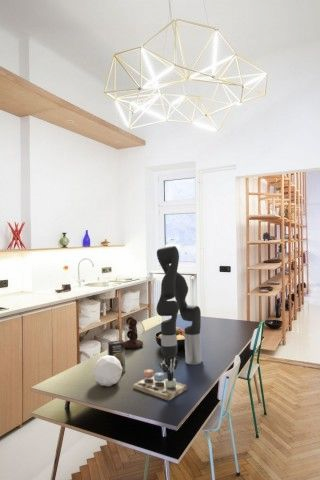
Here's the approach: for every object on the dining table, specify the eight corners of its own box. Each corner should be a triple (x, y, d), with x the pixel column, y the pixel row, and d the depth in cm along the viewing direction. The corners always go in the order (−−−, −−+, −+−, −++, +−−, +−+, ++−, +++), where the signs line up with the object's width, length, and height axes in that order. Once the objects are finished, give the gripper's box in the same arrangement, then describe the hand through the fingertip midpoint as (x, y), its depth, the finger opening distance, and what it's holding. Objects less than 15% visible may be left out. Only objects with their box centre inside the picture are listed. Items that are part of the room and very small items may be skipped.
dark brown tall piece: (146, 348, 225) (145, 318, 225) (125, 351, 220) (123, 321, 220) (139, 342, 239) (138, 314, 239) (119, 345, 233) (118, 317, 234)
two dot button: (148, 373, 169) (148, 368, 169) (155, 375, 166) (155, 370, 166) (141, 376, 165) (141, 371, 165) (149, 378, 162) (148, 374, 162)
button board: (152, 378, 173) (152, 373, 173) (186, 389, 159) (186, 383, 159) (133, 388, 163) (133, 382, 163) (168, 400, 148) (168, 394, 148)
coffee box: (109, 374, 182) (108, 344, 182) (108, 369, 188) (107, 341, 189) (125, 371, 185) (124, 342, 185) (124, 367, 191) (123, 339, 191)
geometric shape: (100, 395, 168) (83, 370, 170) (122, 376, 178) (105, 353, 180) (110, 390, 157) (91, 363, 160) (132, 370, 167) (114, 345, 170)
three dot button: (158, 376, 164) (158, 371, 164) (166, 378, 161) (166, 373, 161) (152, 379, 161) (151, 374, 161) (160, 382, 157) (159, 377, 157)
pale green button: (169, 382, 160) (169, 377, 160) (178, 384, 157) (178, 379, 157) (163, 385, 156) (163, 380, 156) (171, 388, 153) (171, 383, 153)
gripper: (171, 338, 164) (172, 373, 164) (153, 345, 154) (155, 383, 154) (183, 341, 159) (185, 377, 159) (166, 348, 149) (167, 387, 149)
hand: (170, 380), depth 156 cm, fingers closed
